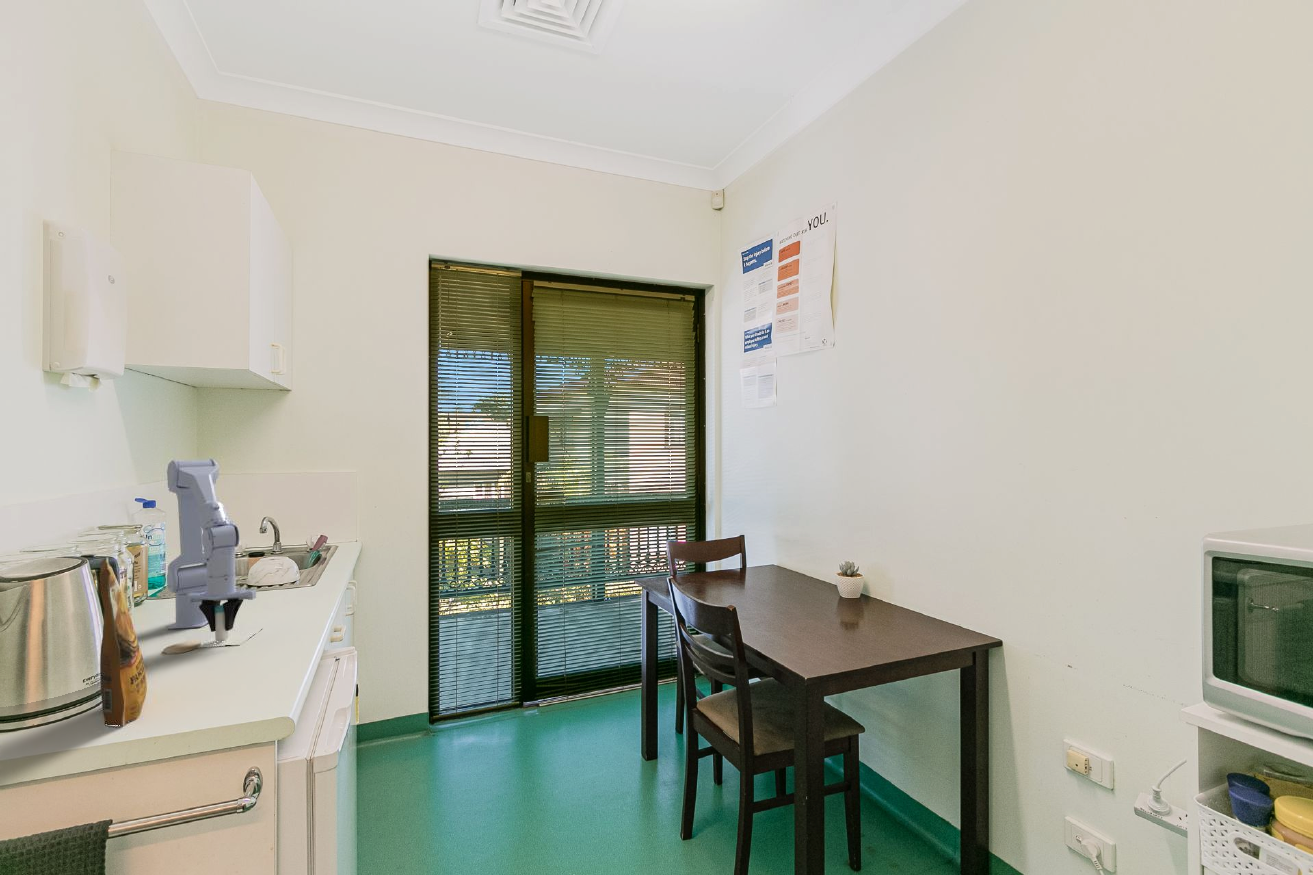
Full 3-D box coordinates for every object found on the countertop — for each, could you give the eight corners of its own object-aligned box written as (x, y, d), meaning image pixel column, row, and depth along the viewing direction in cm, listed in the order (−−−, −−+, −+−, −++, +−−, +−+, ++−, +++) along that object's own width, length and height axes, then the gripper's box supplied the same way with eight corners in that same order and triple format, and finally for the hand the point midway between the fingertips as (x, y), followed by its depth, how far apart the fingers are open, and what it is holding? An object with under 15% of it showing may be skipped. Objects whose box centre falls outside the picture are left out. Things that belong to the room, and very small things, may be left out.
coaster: (174, 644, 144) (174, 642, 144) (207, 642, 145) (207, 640, 145) (156, 655, 137) (156, 653, 137) (190, 652, 138) (190, 651, 138)
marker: (218, 637, 147) (218, 604, 147) (231, 636, 148) (230, 604, 148) (212, 640, 144) (212, 608, 144) (225, 640, 145) (224, 607, 145)
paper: (224, 631, 153) (224, 630, 153) (263, 629, 155) (263, 628, 155) (197, 648, 141) (197, 647, 141) (239, 645, 143) (239, 644, 143)
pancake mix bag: (85, 738, 100) (83, 571, 99) (105, 697, 115) (102, 553, 115) (139, 726, 103) (136, 566, 103) (150, 688, 119) (148, 549, 119)
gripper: (177, 580, 141) (178, 637, 141) (246, 577, 143) (246, 633, 144) (195, 573, 148) (195, 628, 148) (259, 570, 150) (260, 624, 150)
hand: (222, 630), depth 146 cm, fingers closed on marker, 3 cm apart
